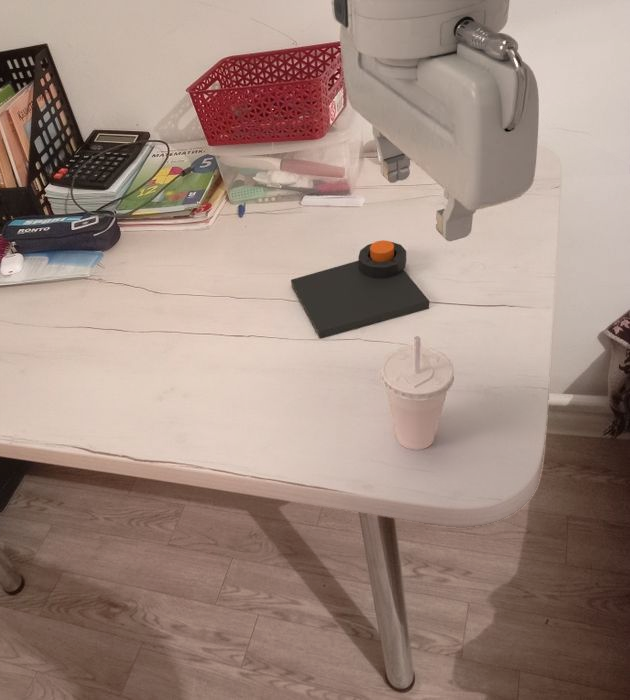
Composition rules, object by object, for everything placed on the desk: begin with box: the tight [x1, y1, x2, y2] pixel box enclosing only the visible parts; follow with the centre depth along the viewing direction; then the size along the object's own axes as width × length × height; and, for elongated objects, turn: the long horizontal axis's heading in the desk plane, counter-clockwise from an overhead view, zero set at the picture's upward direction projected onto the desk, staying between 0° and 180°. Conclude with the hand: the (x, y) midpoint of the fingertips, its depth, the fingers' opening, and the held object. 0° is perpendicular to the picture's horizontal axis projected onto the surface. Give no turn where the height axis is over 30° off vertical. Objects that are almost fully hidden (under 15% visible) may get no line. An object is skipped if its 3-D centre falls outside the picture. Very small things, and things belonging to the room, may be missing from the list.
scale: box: [290, 241, 430, 339], centre depth 81 cm, size 15×12×3 cm
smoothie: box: [380, 335, 455, 451], centre depth 59 cm, size 6×6×14 cm
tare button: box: [370, 239, 394, 262], centre depth 82 cm, size 3×3×2 cm
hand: (421, 203), depth 46 cm, fingers open, 8 cm apart
